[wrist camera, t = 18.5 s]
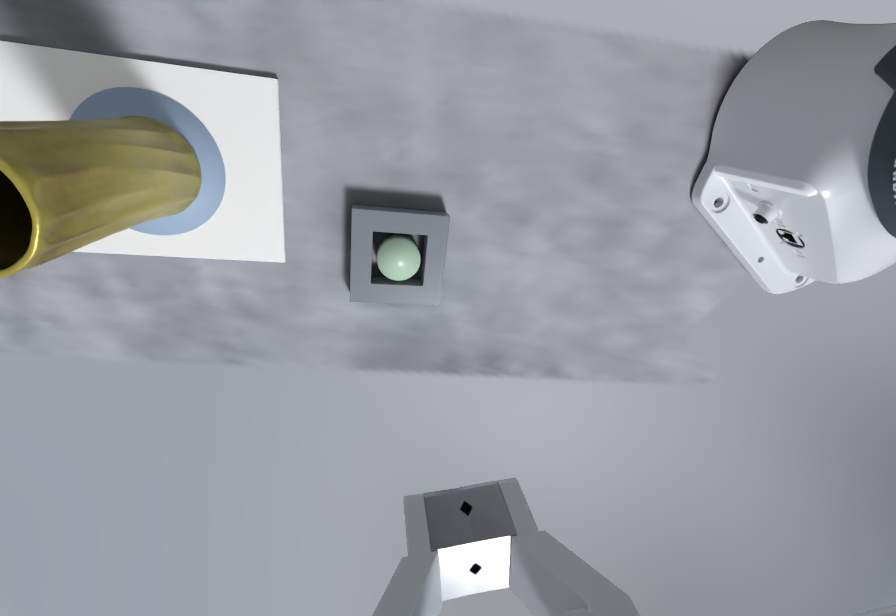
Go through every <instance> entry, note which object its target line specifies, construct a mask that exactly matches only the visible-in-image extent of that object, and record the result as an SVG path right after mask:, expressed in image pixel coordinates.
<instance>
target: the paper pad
mask: <svg viewBox="0 0 896 616" xmlns="http://www.w3.org/2000/svg"><path fill="white" fill-rule="evenodd" d="M134 115H135V116H144V117H148V118H151V119H154V120H157V121H159V122H161V123H164V124H166V125H167V126H169V127H171V128H172V129H173V130H175V131H176V132H177V133H178V134H179V135H180V136H181V137H182V138H183V139H184V140H185V141H186V142H187V143H188V144H189V145H190V147H191V148H192V150H193V151H194V153H195V155H196V157H197V159H198V161H199V165H200V168H201V175H202V182H201V188H200V191H199V194H198V197H197V198H196V199H195V200H194V202H193V203H192V204H191V205H190V206H189V207H188V208H187V209H185V210H184V211H182V212H180V213H178V214H175V215H171V216H166V217H161V218H158V219H154V220H151V221H148V222H144V223H141V224H138V225H135V226H133V227H130V228H128V229H126V230H123V231H120V232H118V233H114V234H112V235H109V236H107V237H105V238H103V239H101V240H98V241H95V242H93V243H90V244H88V245H86V246H83V247H81V248H79V249H77V250H74V251H72V252H91V253H111V254H130V255H149V256H169V257H188V258H207V259H227V260H246V261H265V262H286V251H285V227H284V203H283V179H282V155H281V131H280V107H279V83H278V79H273V78H266V77H258V76H251V75H244V74H237V73H229V72H222V71H215V70H208V69H201V68H193V67H186V66H179V65H172V64H165V63H157V62H150V61H143V60H136V59H129V58H121V57H114V56H107V55H100V54H93V53H85V52H78V51H71V50H64V49H57V48H49V47H42V46H35V45H28V44H20V43H13V42H6V41H0V121H60V120H97V119H108V118H119V117H124V116H134Z"/></svg>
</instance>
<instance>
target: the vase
mask: <svg viewBox="0 0 896 616" xmlns="http://www.w3.org/2000/svg"><path fill="white" fill-rule="evenodd" d="M201 182H202V175H201V168H200V165H199V161H198V159H197V157H196V155H195V153H194V151H193V150H192V148H191V147H190V145H189V144H188V143H187V142H186V141H185V140H184V139H183V138H182V137H181V136H180V135H179V134H178V133H177V132H176V131H175V130H173V129H172V128H171V127H169V126H167V125H166V124H164V123H161V122H159V121H157V120H154V119H151V118H148V117H144V116H135V115H134V116H124V117H119V118H108V119H97V120H60V121H0V278H4V277H7V276H11V275H14V274H16V273H18V272H21V271H23V270H25V269H29V268H32V267H35V266H38V265H41V264H43V263H46V262H48V261H50V260H53V259H55V258H58V257H60V256H62V255H65V254H67V253H70V252H72V251H74V250H77V249H79V248H81V247H83V246H86V245H88V244H90V243H93V242H95V241H98V240H101V239H103V238H105V237H107V236H109V235H112V234H114V233H118V232H120V231H123V230H126V229H128V228H130V227H133V226H135V225H138V224H141V223H144V222H148V221H151V220H154V219H158V218H161V217H166V216H171V215H175V214H178V213H180V212H182V211H184V210H185V209H187V208H188V207H189V206H190V205H191V204H192V203H193V202H194V200H195V199H196V198H197V197H198V194H199V191H200V188H201Z"/></svg>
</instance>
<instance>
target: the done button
mask: <svg viewBox="0 0 896 616" xmlns="http://www.w3.org/2000/svg"><path fill="white" fill-rule="evenodd" d="M420 260H421V259H420V253H419V251H418V249H417V246H416V244H415V243H414V242H413V241H412V240H411V239H410V238H408V237H407V236H404V235H392V236H389V237H387V238H385V239H384V240H383V241H382V242H381V243H380V245H379V247H378V250H377V263H378V267H379V269H380V271H381V272H382V273H383V274H384V275H385V276H386V277H387V278H389V279H392V280H397V281H401V280H406V279H408V278H410V277H412V276H413V275H414V274H415V273H416V272H417V270H418V268H419V266H420Z"/></svg>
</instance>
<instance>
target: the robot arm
mask: <svg viewBox="0 0 896 616" xmlns="http://www.w3.org/2000/svg"><path fill="white" fill-rule="evenodd" d="M716 199H717V202H716V203H715V205H714V202H715V200H716ZM692 201H693V204H694V205H695V206H696V208H697V209H698V210H699V211H700V213H701V214H702V215H703V216H704V217H705V219H706V220H707V221H708V222H709V224H710V225H711V226H712V227H713V228H714V230H715V231H716V232H717V233H718V235H719V236H720V237H721V238H722V239H723V241H724V242H725V243H726V244H727V246H728V247H729V248H730V249H731V251H732V252H733V253H734V254H735V255H736V257H737V258H738V259H739V260H740V262H741V263H742V264H743V265H744V266H745V268H746V269H747V270H748V271H749V273H750V274H751V275H752V276H753V278H754V279H755V280H756V281H757V282H758V284H759V285H760V286H761V287H762V288H763V289H764V290H765V291H767V292H770V293H773V294H779V293H785V292H789V291H792V290H796V289H798V288H801V287H803V286H805V285H807V284H809V283H811V282H813V281H815V280H819V281H823V282H828V283H849V282H853V281H858V280H860V279H863V278H866V277H869V276H871V275H873V274H875V273H878V272H879V271H881V270H883V269H885V268H887V267H889V266H890V265H892V264H894V263H895V262H896V23H891V24H848V23H839V22H833V21H824V20H821V21H810V22H806V23H802V24H799V25H797V26H794V27H792V28H790V29H788V30H786V31H784V32H782V33H781V34H779V35H777V36H776V37H774V38H773V39H772V40H770V41H769V42H768V43H766V44H765V45H764V46H763V47H762V48H761V49H760V50H759V51H758V52H757V53H756V54H755V55H754V56H753V57H752V58H751V59H750V60H749V61H748V62H747V63H746V65H745V66H744V67H743V68H742V70H741V71H740V73H739V74H738V75H737V77H736V78H735V80H734V81H733V83H732V85H731V86H730V88H729V90H728V92H727V94H726V96H725V98H724V100H723V102H722V104H721V107H720V109H719V112H718V115H717V118H716V121H715V125H714V129H713V133H712V139H711V145H710V150H709V155H708V158H707V162H706V164H705V165H704V167H703V169H702V171H701V173H700V175H699V177H698V179H697V181H696V183H695V186H694V188H693V191H692ZM404 514H405V525H406V537H407V548H408V556H407V557H402V559H401V561H400V563H399V565H398V567H397V569H396V571H395V573H394V574H393V576H392V579H391V581H390V582H389V584H388V586H387V588H386V590H385V592H384V594H383V596H382V598H381V600H380V602H379V604H378V606H377V608H376V609H375V611H374V613H373V616H438V615H439V612H440V609H441V606H442V601H444V600H448V599H453V598H457V597H461V596H465V595H469V594H474V593H478V592H484V591H490V590H495V589H501V588H507V587H510V590H511V591H512V592H513V593H514V594H515V595H516V596H517V598H518V599H519V600H520V601H521V602H522V603H523V604H524V605H525V606H526V608H527V609H528V610H529V611H530V612H531V613H532V614H533V615H534V616H640V615H639V613H638V611H637V609H636V608H635V606H634V604H633V602H632V600H631V598H630V597H629V596H628V595H627V594H626V593H624V592H623V591H622V590H621V589H619V588H618V587H617V586H615V585H614V584H613V583H612V582H610V581H609V580H608V579H606V578H605V577H604V576H603V575H601V574H600V573H599V572H597V571H596V570H595V569H594V568H592V567H591V566H590V565H588V564H587V563H586V562H585V561H583V560H582V559H581V558H579V557H578V556H577V555H576V554H574V553H573V552H572V551H570V550H569V549H568V548H566V547H565V546H564V545H563V544H561V543H560V542H559V541H557V540H556V539H555V538H554V537H552V536H551V535H550V534H549V533H547V532H546V531H539V530H538V528H537V526H536V523H535V521H534V519H533V516H532V513H531V511H530V509H529V506H528V504H527V502H526V499H525V497H524V494H523V492H522V490H521V487H520V485H519V482H518V480H517V479H516V478H510V479H504V480H499V481H492V482H486V483H481V484H475V485H470V486H464V487H460V488H456V489H449V490H442V491H435V492H428V493H423V494H416V495H409V496H404ZM851 616H896V604H895V605H891V606H887V607H883V608H879V609H875V610H871V611H867V612H862V613H858V614H854V615H851Z"/></svg>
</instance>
